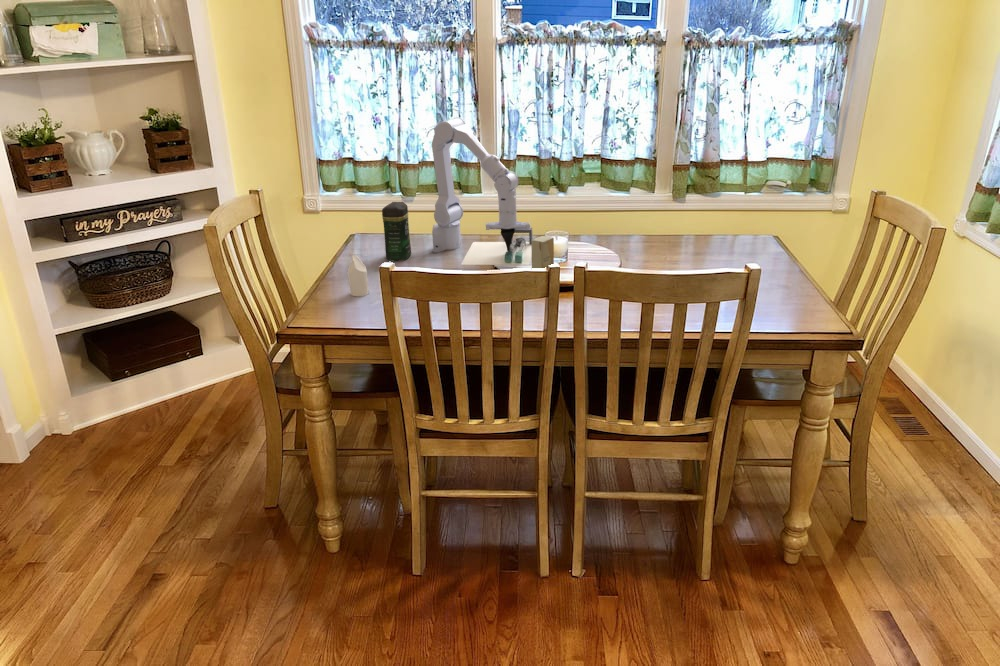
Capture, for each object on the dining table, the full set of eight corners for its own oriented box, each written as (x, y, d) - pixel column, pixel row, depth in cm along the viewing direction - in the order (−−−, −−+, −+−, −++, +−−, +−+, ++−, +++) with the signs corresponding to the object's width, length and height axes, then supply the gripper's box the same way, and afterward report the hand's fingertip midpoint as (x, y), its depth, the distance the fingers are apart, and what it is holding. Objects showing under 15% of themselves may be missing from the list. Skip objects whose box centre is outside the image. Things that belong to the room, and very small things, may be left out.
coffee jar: (406, 262, 261) (401, 207, 254) (383, 261, 262) (378, 207, 255) (414, 253, 270) (409, 199, 262) (392, 253, 271) (387, 199, 264)
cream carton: (361, 257, 227) (342, 258, 228) (366, 296, 232) (347, 296, 233) (367, 251, 233) (348, 251, 233) (371, 289, 238) (353, 289, 238)
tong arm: (512, 246, 267) (511, 240, 266) (518, 246, 267) (518, 240, 266) (504, 262, 252) (504, 255, 251) (511, 262, 252) (511, 255, 251)
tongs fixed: (516, 244, 271) (516, 237, 270) (528, 244, 270) (527, 237, 269) (509, 262, 252) (509, 255, 251) (522, 262, 252) (521, 255, 251)
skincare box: (543, 281, 238) (542, 242, 234) (531, 278, 241) (530, 240, 236) (554, 275, 243) (554, 236, 238) (543, 272, 246) (542, 234, 241)
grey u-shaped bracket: (510, 241, 273) (510, 227, 271) (532, 241, 272) (532, 227, 270) (509, 243, 271) (509, 230, 269) (531, 243, 270) (531, 230, 268)
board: (461, 268, 253) (460, 264, 252) (473, 245, 276) (473, 241, 275) (529, 268, 250) (529, 264, 249) (536, 245, 273) (536, 241, 272)
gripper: (483, 213, 253) (485, 254, 258) (528, 213, 251) (529, 254, 256) (486, 208, 259) (488, 247, 265) (530, 207, 257) (531, 247, 263)
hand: (508, 250), depth 261 cm, fingers closed
